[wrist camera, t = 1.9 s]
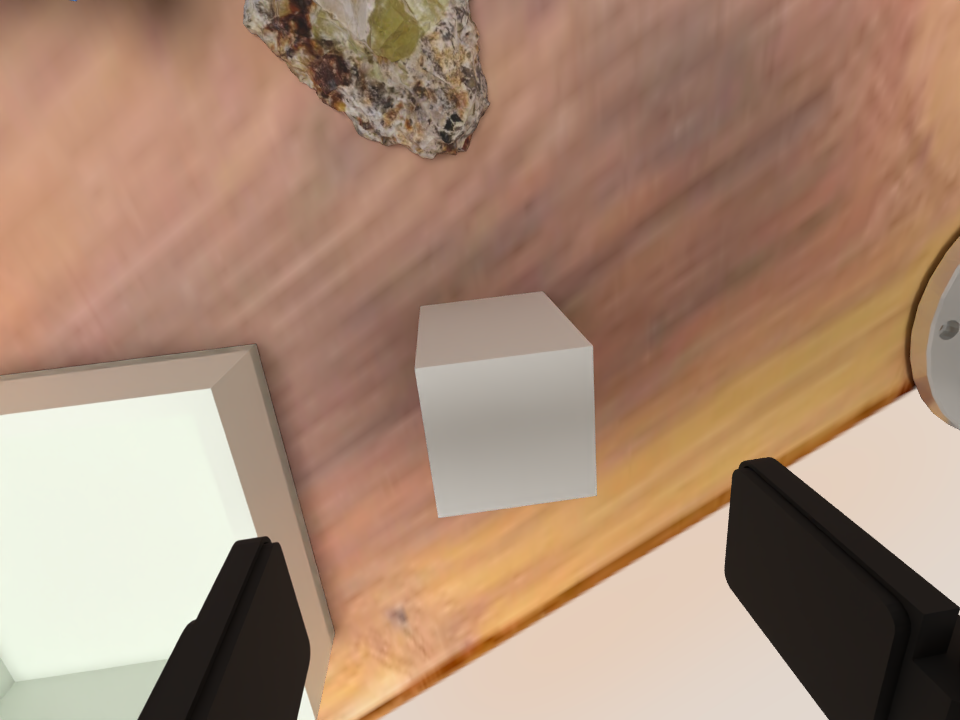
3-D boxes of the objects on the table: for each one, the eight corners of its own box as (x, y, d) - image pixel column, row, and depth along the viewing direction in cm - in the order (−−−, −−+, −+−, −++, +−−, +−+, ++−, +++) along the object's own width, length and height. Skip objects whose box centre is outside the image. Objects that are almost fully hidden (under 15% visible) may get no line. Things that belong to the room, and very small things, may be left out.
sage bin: (256, 343, 20) (210, 388, 16) (334, 633, 26) (316, 722, 22) (-153, 394, 20) (-310, 454, 16) (17, 680, 25) (-65, 782, 21)
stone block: (542, 291, 21) (592, 345, 14) (549, 401, 23) (596, 495, 16) (420, 306, 21) (414, 368, 14) (436, 416, 22) (438, 517, 16)
